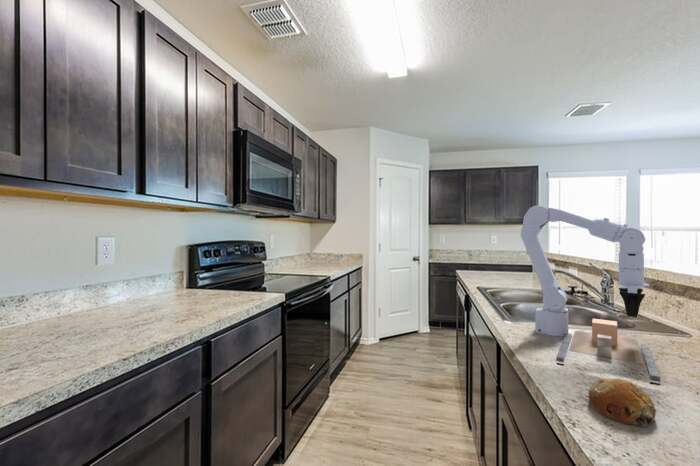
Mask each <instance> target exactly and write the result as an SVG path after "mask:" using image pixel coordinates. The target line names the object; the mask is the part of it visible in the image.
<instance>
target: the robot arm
mask: <svg viewBox="0 0 700 466" xmlns="http://www.w3.org/2000/svg"><path fill="white" fill-rule="evenodd" d="M526 211H527V212H526V213H525V214H524V216H523V223H522V226H521V230H520V237H521V239H522V240H521V241H522V243H523V245H524V247H525V249H526V252H527V255H528V256H529V259H530V262H531V264H532V267H533V269H534V271H535V274H536V276H537V278H538V281H539V283H540V288H541V293H542V295H543V297H542V303H543V306H542V307H541V308H540V307H537V308H536V309H535V315H534V316H535V317H534V319H535V320H534V321H535V322H534V323H535V326H534V329H535V331H534V332H535V333H538V334H544V335H548V336H554V337H564V336H565V334H566V333H569V309H568V308H567V307H566V304H567V302H568V294H567V292H566V291H565V290H564V289H562V288H561V286H560V284H559V282H558V281H557V279H556V277H555V274H554V272H553V270H552V267H551V265H550V262H549V260H548V258H547V255H546V253H545V251H544V248H543V246H542V244H541V241H540V238H539V237H538V236H539V234H540V232H541V230H542V228H543V227H544V226H546V225H547V224H548V223H549V222H550V223H556V222H563V223H566V224H569V225H573V226H576V227H579V228H582V229H585V230H587V231H588V233H589V234H590V235H591V236H593V237H597V238H599V239H601V240H604V241H605V240H606V241H608V242H611V243H619V252H618V282H617V285H618V286H621V287H618V289H619V294H620V296H621V298H622V300H623V302H624V303H623V304H624V308H625V313H626V315H627V317H632V318H638V315H639V312H640V311H639V310H640V308H641V307H640V306H641V304H642V301H643V299H644V298H645V297H646V293H643V291H644V288H649V287H650V284H649V283H645V254H644V246H643V245H644V244H645V242H646V237H645V235H644V233H643V232H642V230H639V229H637V228H634V227H629V226H628V224H626V223H625V224H624V223H623V224H620V223H616V222H615V221H614V222H613V221H610V219H609V218H607V217H604V218H599V217H598V218H596V219H593V220H592V219H589V218H586V217H584V216H580V215H577V214H574V213H571V212H568V211H565V210H562V209H558V208H553V207H548V206H547V207H544V206H542V205H537V204H536V205H534V206H531V207H530V208H529V209H528V210H526Z"/></svg>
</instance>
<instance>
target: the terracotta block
mask: <svg viewBox="0 0 700 466" xmlns="http://www.w3.org/2000/svg"><path fill="white" fill-rule="evenodd" d="M591 333H592V342H595V343H597V337H598V334H599V335H606V336H611V343H612V345H613V346H617V337H618V321H617V320H608V319H600V318H599V319H598V318H592V320H591Z"/></svg>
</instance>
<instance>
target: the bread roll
mask: <svg viewBox="0 0 700 466" xmlns="http://www.w3.org/2000/svg"><path fill="white" fill-rule="evenodd" d="M588 402H589V404H590V405H591V408H593V409H594V410H595V411H596V412H598V413H599V414H600V415H602V416H604V417H605V416H606V417H605V418H608V419H610V420H612V419H613V421H615V422H618V423H621V422H622V424H625V423H626V424H625V425H631V424H633V426H637V425H640V426H641V425H646V426H648V425H647V424H649V425H650V424H652V422H654V420H655V417H656V415H657V414H656V413H657V409H656V407H655V404H654V402H653V400H652V398H651V397H650V395H649V394H648V392H646V391H645V390H644V389H643V388H642V387H641V386H639V385H637V384H635V383H633V382H632V381H629V380H626V379H623V378H618V377H617V378H614V377H613V378H611V377H609V378H607V377H606V378H601V379H600V380H597V381H595V382H594V383H593V384H592V385H591V387H590V388H589V390H588ZM634 424H635V425H634Z"/></svg>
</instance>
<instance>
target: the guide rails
mask: <svg viewBox="0 0 700 466" xmlns="http://www.w3.org/2000/svg"><path fill="white" fill-rule="evenodd" d="M572 338H573V334H572V333H569V332H568V333H566V334H565V336H563V339H562V341H561V345H560V347H559V350H558V353H557V354H556V358H555V359H556V361H560V362H564V361H565V358H566V356H567V352H568V351H569V350H568V349H569V348H570V345H571V341H572ZM649 346H650V345H646V344H640V350H641V351H642V352H641V353H642V357H643V360H644V363H645V365H646V368H647V373H648V376H649V378H650V380H654V381H649V383H650V385H655V386H661V383H659V382H655V381H661V376H660V374H659V370H658V368H657V366H656V363H655V359H654V358H653V355H652V352H651V349H650V347H649ZM560 362H556V365H557V366H565V364H564V363H560Z"/></svg>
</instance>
